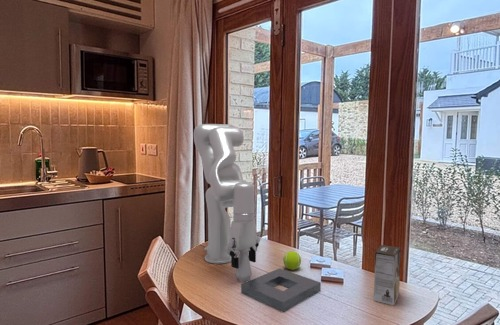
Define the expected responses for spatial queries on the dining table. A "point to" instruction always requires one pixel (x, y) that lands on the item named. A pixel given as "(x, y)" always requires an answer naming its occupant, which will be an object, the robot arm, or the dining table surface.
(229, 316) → the dining table surface
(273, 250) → the dining table surface
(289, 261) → the tennis ball
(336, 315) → the dining table surface
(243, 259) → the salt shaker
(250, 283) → the grey square frame
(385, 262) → the coffee box
